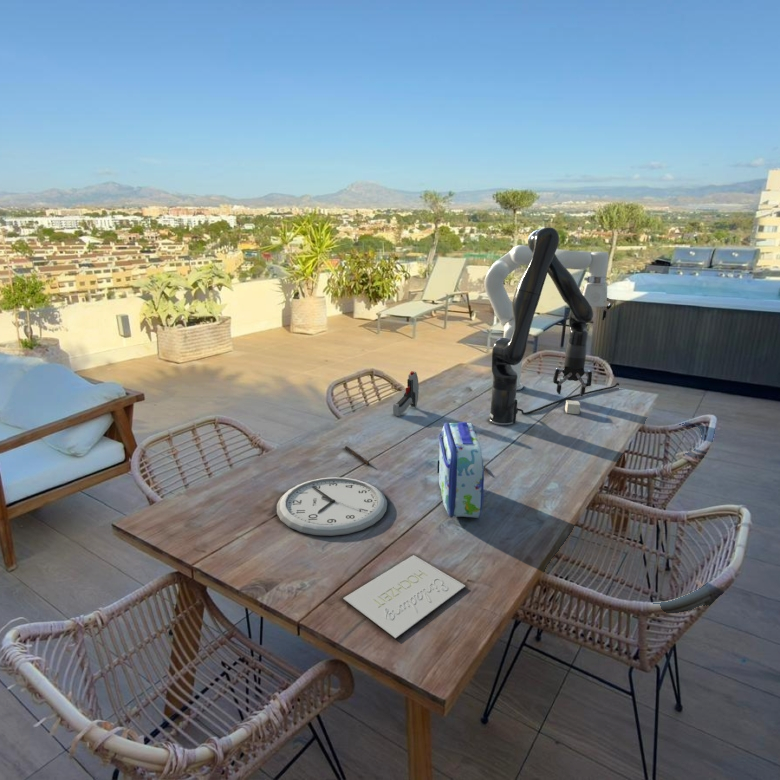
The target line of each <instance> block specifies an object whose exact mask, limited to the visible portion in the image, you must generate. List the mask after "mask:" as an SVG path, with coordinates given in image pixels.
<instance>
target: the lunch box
mask: <svg viewBox="0 0 780 780" xmlns="http://www.w3.org/2000/svg"><path fill="white" fill-rule="evenodd" d="M438 438H439V450H438V453H439V454H438V455H439V456H438V457H439V458H438V460H437V471H436V472H437V474H438V486H439V488H440V492H441V493H440V494H441V498H442V499H441V500H442V504H443V507H444V510H445V512H446V514H447V516H448V517H449V518H451V519H453V518H456V517H464V518H477V519H478V518H480V517H481V515H482V511H483V505H484V488H485V486H484V484H485V483H484V482H485V471H484V468H485V467H484V459H483V454H482V453H483V452H482V447H481V444H480V442H479V440H478V437H477V434H476V430H475V428H474V424H473V423H471V422H468V421H461V422H460V421H459V422H450V423H449V422H445V423H443V426H442V430H441V433H439V436H438Z"/></svg>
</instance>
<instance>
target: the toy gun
mask: <svg viewBox="0 0 780 780" xmlns="http://www.w3.org/2000/svg"><path fill="white" fill-rule="evenodd" d="M407 375H408V377H407V378H408V379H407V380H406V381H407V386H406V387H405V392H404V394H403V396H402V397H401V398H400V399H399V400H398V401H397V402H396V403H393V404H392V413H393V414H392V415H393V416H396V417H400V416H402V415H403V413H404V412H405V411H407V409H408V408H409V406H410V407H411V408H414V409H417V407H418V402H419V393H420V392H419V391H420V390H419V389H420V388H419V387H420V386H419V377H418V373H417V371H414V370H411V371H410V372H409V374H407Z"/></svg>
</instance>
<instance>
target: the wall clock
mask: <svg viewBox="0 0 780 780" xmlns="http://www.w3.org/2000/svg"><path fill="white" fill-rule="evenodd" d="M387 509H388V500H387V498H386V496H385V494H384V493H383V492H382V491H381V490H380V489H379V488H377V487H376V486H374V485H372V484H371V483H369V482H365V481H362V480H359V479H355V478H349V477H338V476H337V477H335V476H333V477H332V476H331V477H322V478H317V479H312V480H307V481H305V482H302V483H299V484H297V485H295V486H293V487H292V488H290V489H288V490H287V491H286V492H285V493H284V494H283V495H281V496H280V498H279V499H278V502H277V503H276V515H277V517H278V518H279V520H280V521H281V522H282V523H283V524H285V525H286V526H287V527H288V528H290V529H293V530H295V531H297V532H299V533H303V534H308V535H312V536H327V537H328V536H329V537H331V536H332V537H333V536H342V535H350V534H352V533H356V532H361V531H363V530H366V529H368V528H369V527H372V526H373V525H375V524H376V523H378V522H379V521H380V520H381V519H382V518H383V517H384V516H385V514H386V512H387Z"/></svg>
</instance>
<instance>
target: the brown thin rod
mask: <svg viewBox="0 0 780 780" xmlns="http://www.w3.org/2000/svg"><path fill="white" fill-rule="evenodd" d="M344 449H345V450H346V451H348V452H349V453H350V454H352V455H353V456H355V457H356V458H358V459H359V460H361V461H362V462H363V463H364V464H366V465H370V461H368V460H367V459H366V458H364V457H363V456H361V455H360V454H358V453H357V452H356V451H354V450H353V449H352V448H350V447H348V446H347V445H345V446H344Z"/></svg>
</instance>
